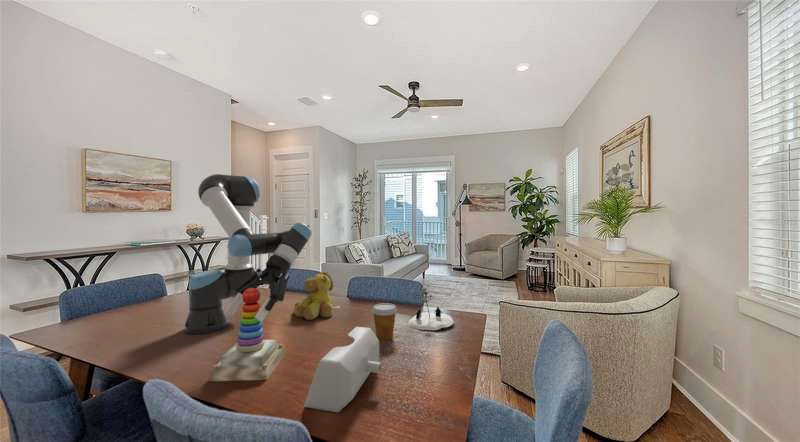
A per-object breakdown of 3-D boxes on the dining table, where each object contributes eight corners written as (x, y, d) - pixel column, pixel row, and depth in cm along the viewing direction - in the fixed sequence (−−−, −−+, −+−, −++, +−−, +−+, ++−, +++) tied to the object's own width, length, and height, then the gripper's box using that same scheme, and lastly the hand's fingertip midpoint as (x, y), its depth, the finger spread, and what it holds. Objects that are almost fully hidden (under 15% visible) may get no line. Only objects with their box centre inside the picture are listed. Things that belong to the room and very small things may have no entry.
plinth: (210, 381, 89) (209, 360, 89) (236, 355, 105) (236, 338, 105) (267, 379, 90) (266, 359, 90) (284, 354, 106) (284, 337, 106)
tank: (363, 420, 73) (363, 367, 72) (302, 409, 77) (302, 359, 76) (392, 368, 97) (392, 328, 97) (344, 362, 101) (344, 323, 100)
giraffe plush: (285, 314, 148) (284, 274, 147) (324, 302, 167) (324, 267, 166) (311, 323, 135) (311, 280, 135) (351, 310, 154) (351, 271, 154)
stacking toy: (253, 354, 93) (252, 292, 92) (230, 352, 94) (229, 291, 94) (269, 343, 100) (268, 286, 100) (248, 341, 102) (247, 284, 101)
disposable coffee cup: (400, 334, 123) (400, 304, 123) (390, 343, 114) (389, 311, 114) (379, 330, 127) (379, 301, 127) (367, 339, 118) (367, 308, 118)
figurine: (455, 316, 142) (451, 281, 142) (452, 331, 124) (448, 291, 124) (412, 317, 147) (408, 283, 146) (403, 332, 129) (400, 293, 129)
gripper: (314, 269, 105) (279, 328, 92) (263, 264, 116) (225, 316, 103) (302, 256, 100) (263, 316, 87) (250, 251, 111) (209, 304, 98)
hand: (243, 316), depth 95 cm, fingers open, 13 cm apart
